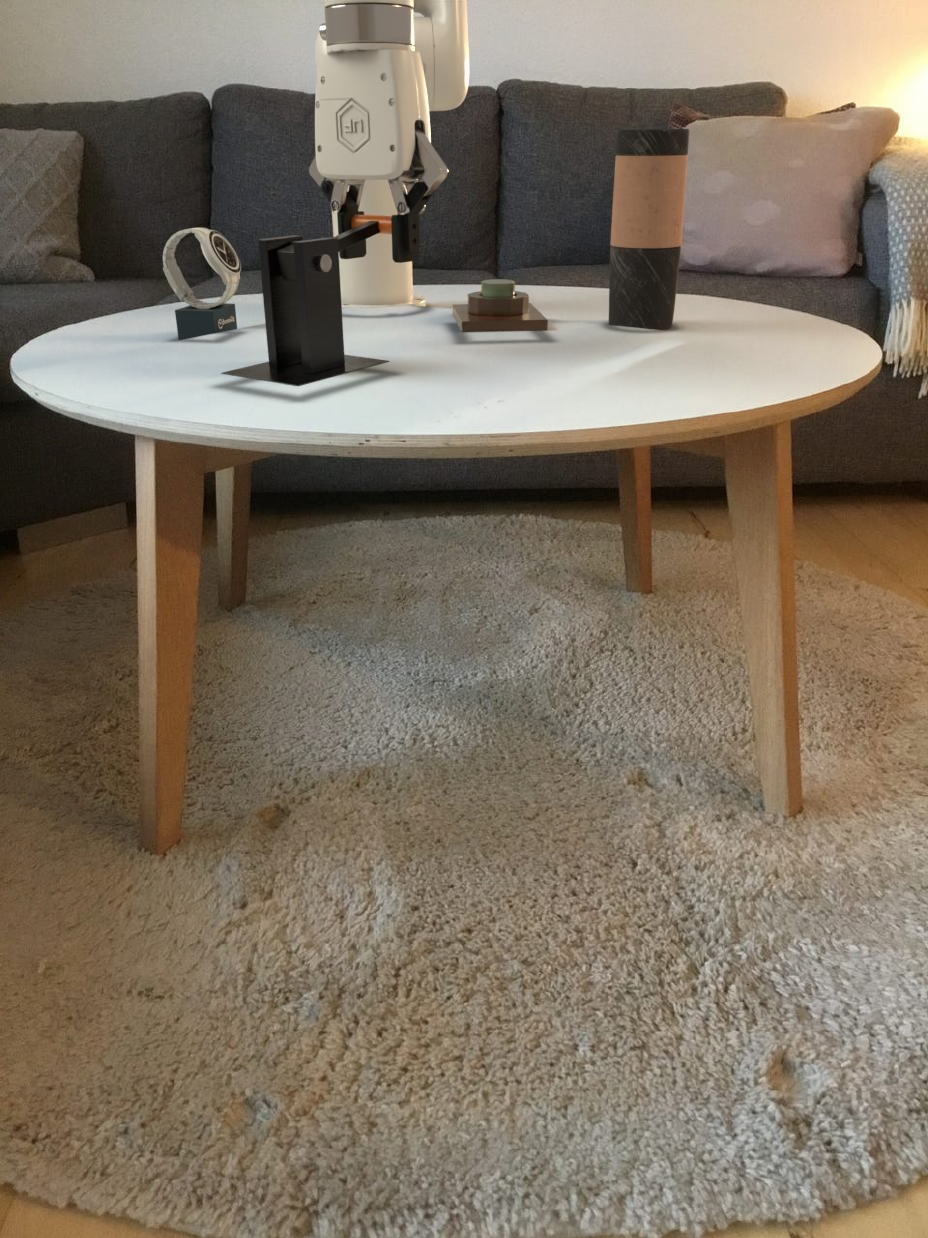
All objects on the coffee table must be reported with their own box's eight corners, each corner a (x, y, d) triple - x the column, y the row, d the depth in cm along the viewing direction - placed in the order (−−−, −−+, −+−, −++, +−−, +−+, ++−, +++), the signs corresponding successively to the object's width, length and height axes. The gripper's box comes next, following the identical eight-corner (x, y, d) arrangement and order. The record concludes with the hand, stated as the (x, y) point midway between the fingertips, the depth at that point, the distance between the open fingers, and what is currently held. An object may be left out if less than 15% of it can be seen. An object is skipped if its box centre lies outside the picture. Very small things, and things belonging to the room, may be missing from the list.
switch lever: (363, 234, 95) (359, 207, 93) (410, 236, 92) (406, 209, 91) (268, 278, 86) (261, 249, 85) (316, 282, 84) (310, 253, 82)
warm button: (479, 296, 111) (479, 279, 110) (512, 295, 111) (512, 278, 110) (483, 300, 108) (483, 283, 107) (516, 300, 108) (517, 283, 107)
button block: (452, 324, 116) (452, 287, 114) (530, 322, 117) (530, 286, 115) (461, 343, 105) (461, 303, 103) (547, 341, 106) (548, 301, 104)
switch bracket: (316, 363, 96) (307, 230, 91) (390, 373, 92) (385, 235, 87) (222, 386, 87) (206, 241, 82) (298, 399, 83) (287, 247, 78)
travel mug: (680, 332, 110) (697, 128, 102) (610, 332, 110) (620, 129, 102) (668, 320, 117) (683, 128, 109) (602, 320, 117) (612, 129, 109)
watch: (233, 342, 106) (222, 230, 102) (163, 339, 108) (149, 229, 103) (254, 333, 111) (244, 226, 107) (187, 330, 113) (174, 225, 108)
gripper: (266, 37, 87) (283, 258, 95) (424, 23, 78) (429, 268, 86) (324, 43, 93) (336, 251, 101) (478, 31, 84) (478, 260, 92)
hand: (379, 257), depth 93 cm, fingers closed on switch lever, 5 cm apart
